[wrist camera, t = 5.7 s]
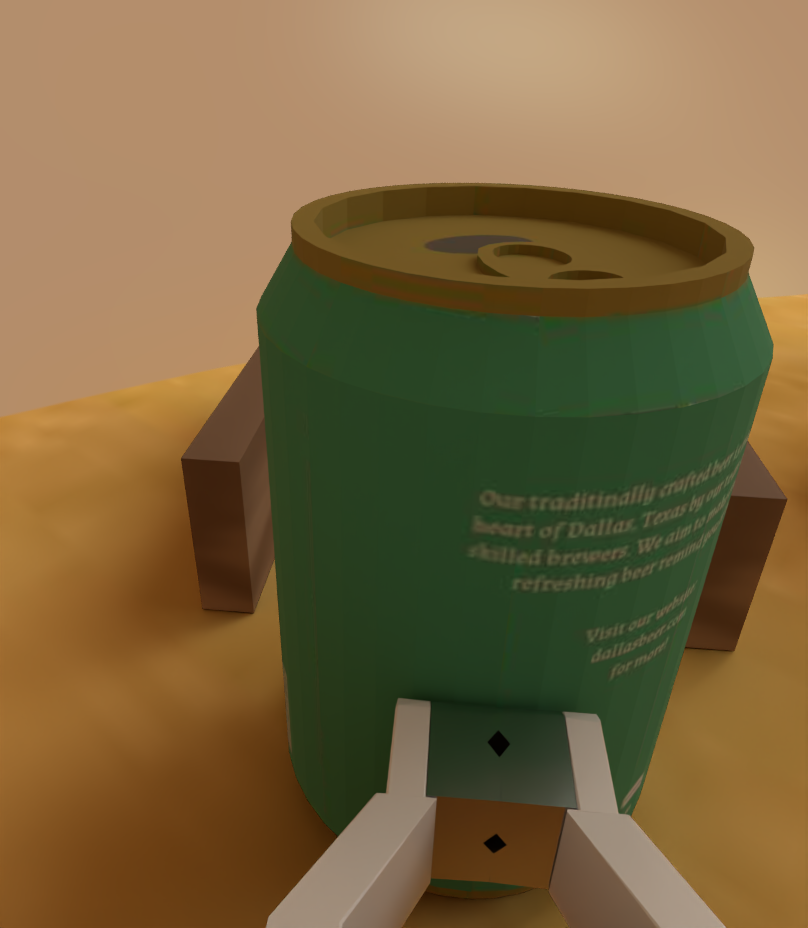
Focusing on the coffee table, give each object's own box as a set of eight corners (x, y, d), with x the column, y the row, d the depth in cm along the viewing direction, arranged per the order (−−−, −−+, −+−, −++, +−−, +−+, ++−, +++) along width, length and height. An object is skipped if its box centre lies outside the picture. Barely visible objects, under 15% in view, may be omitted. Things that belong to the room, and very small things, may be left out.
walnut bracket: (636, 422, 32) (660, 312, 30) (734, 650, 20) (787, 499, 18) (301, 401, 33) (296, 292, 31) (202, 608, 21) (181, 458, 19)
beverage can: (514, 599, 22) (573, 170, 16) (715, 828, 16) (939, 267, 10) (250, 678, 19) (198, 188, 13) (368, 1001, 13) (376, 344, 7)
